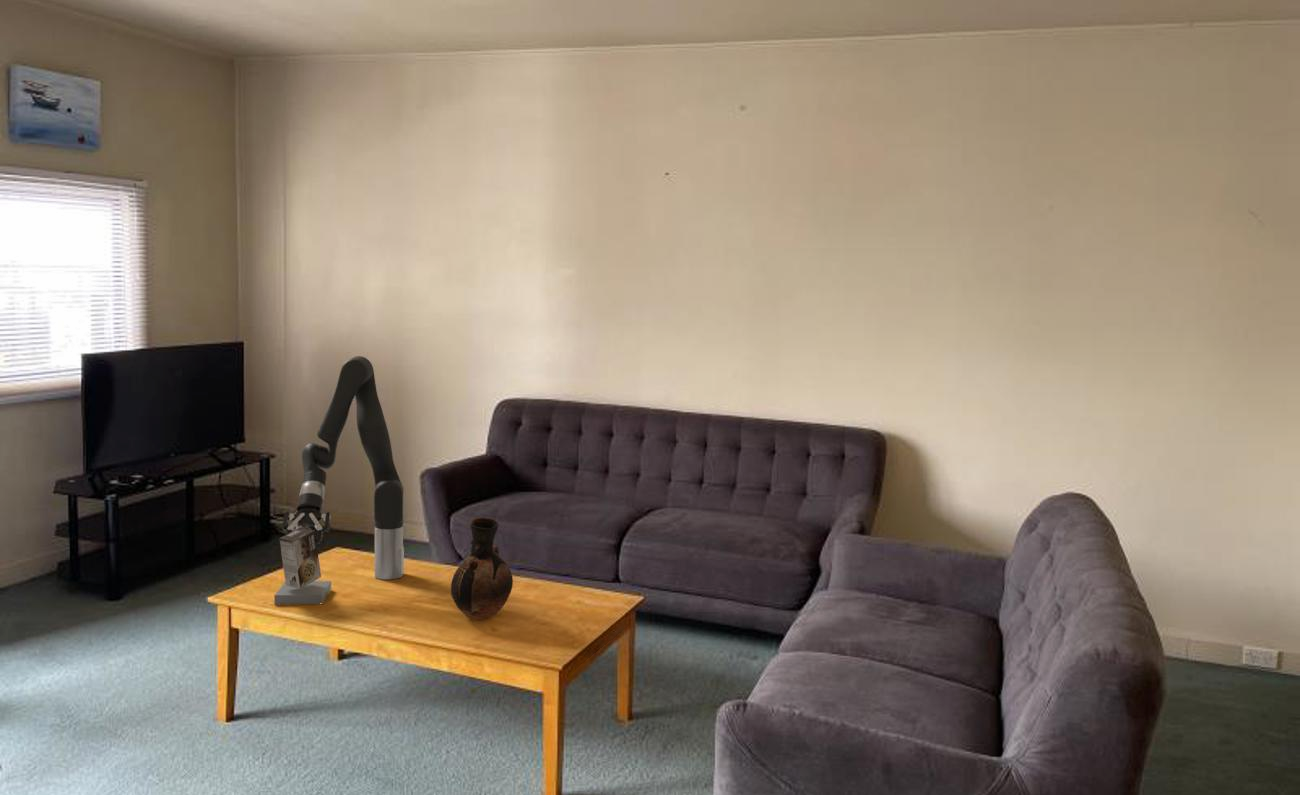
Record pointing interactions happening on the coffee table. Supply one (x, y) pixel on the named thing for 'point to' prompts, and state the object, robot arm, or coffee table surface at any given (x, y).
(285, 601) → the plinth
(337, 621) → the coffee table surface
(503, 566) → the ceramic vessel
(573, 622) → the coffee table surface
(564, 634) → the coffee table surface
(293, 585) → the coffee box
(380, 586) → the coffee table surface
